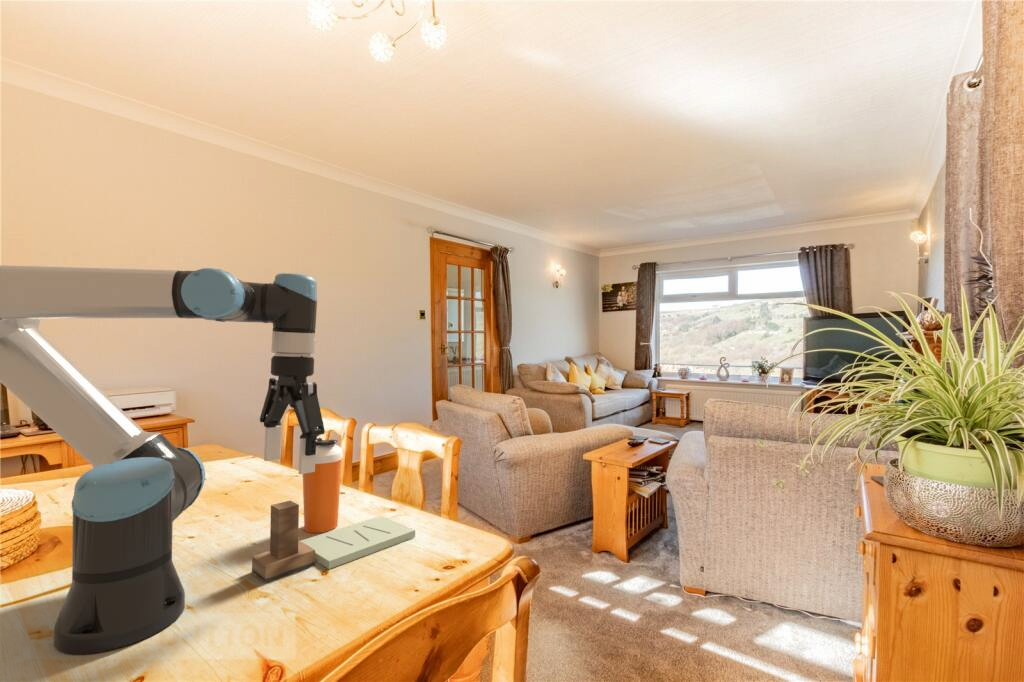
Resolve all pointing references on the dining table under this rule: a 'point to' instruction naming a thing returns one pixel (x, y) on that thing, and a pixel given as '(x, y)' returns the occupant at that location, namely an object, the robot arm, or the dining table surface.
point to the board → (357, 540)
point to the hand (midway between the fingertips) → (288, 466)
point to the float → (283, 546)
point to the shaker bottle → (323, 488)
